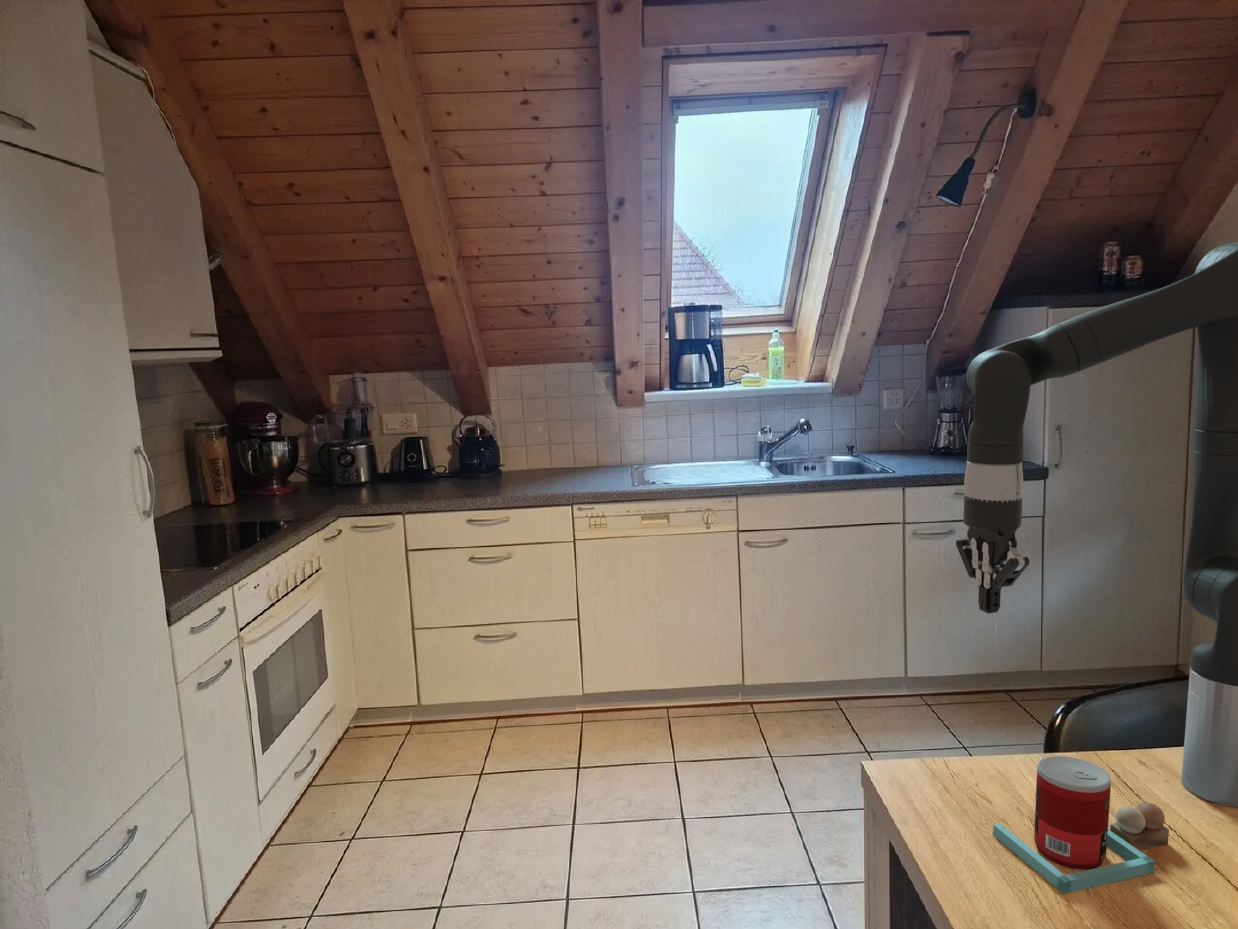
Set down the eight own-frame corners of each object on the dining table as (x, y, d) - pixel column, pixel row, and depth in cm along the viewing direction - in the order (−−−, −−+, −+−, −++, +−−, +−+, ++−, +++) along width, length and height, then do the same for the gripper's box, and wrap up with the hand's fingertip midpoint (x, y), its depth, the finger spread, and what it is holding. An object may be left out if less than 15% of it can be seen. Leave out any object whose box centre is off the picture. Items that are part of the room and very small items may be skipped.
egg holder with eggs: (1147, 829, 107) (1149, 795, 107) (1169, 844, 104) (1171, 809, 104) (1108, 838, 106) (1110, 803, 105) (1129, 853, 103) (1131, 817, 102)
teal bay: (1076, 817, 111) (1076, 807, 110) (1154, 872, 99) (1154, 861, 99) (993, 835, 107) (993, 824, 107) (1063, 894, 96) (1064, 882, 96)
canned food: (1117, 873, 99) (1122, 789, 98) (1046, 870, 100) (1051, 786, 99) (1090, 835, 107) (1094, 756, 105) (1024, 832, 108) (1028, 754, 106)
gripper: (1050, 499, 111) (1044, 623, 113) (984, 483, 123) (980, 595, 126) (1003, 504, 109) (998, 629, 111) (940, 487, 121) (937, 600, 124)
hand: (988, 611), depth 119 cm, fingers closed
